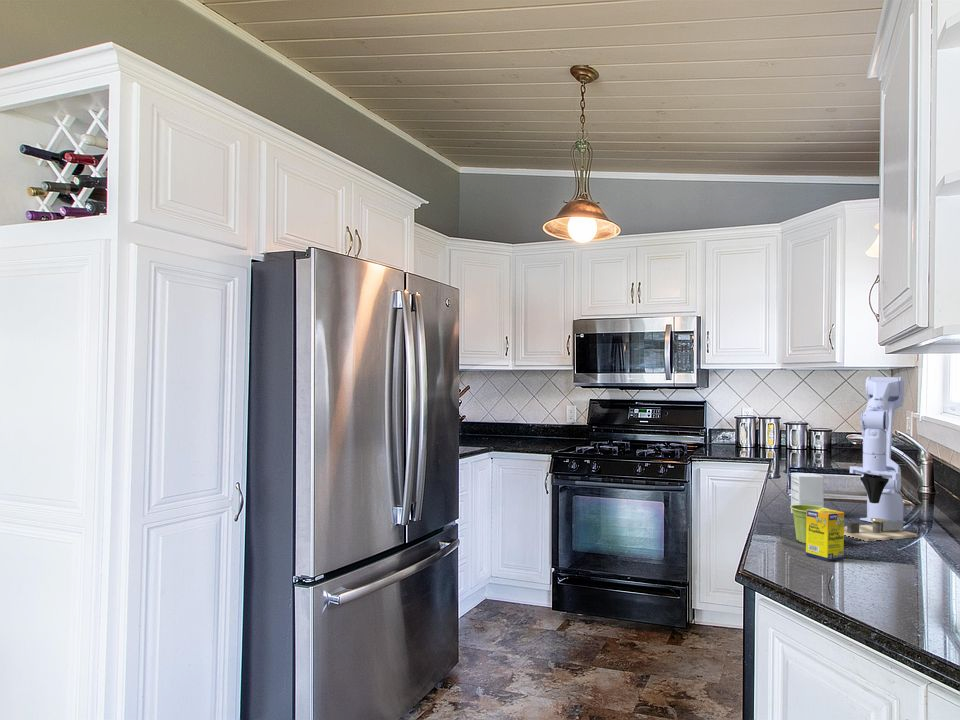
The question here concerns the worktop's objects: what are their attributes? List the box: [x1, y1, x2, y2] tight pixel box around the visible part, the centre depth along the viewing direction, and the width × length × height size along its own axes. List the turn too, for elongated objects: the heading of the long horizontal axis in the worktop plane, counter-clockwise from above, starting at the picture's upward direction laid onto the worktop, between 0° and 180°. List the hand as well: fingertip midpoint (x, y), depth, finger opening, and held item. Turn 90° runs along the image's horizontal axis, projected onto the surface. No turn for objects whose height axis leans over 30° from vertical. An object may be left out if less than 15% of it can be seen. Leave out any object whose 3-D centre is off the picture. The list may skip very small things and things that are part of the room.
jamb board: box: [844, 521, 918, 542], centre depth 190 cm, size 18×13×4 cm
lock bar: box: [871, 518, 904, 531], centre depth 190 cm, size 10×3×3 cm, turn 111°
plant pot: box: [790, 505, 829, 544], centre depth 179 cm, size 9×9×9 cm
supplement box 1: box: [790, 472, 825, 514], centre depth 214 cm, size 7×7×13 cm
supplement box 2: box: [805, 507, 845, 562], centre depth 164 cm, size 6×6×11 cm
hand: (874, 502), depth 194 cm, fingers closed
